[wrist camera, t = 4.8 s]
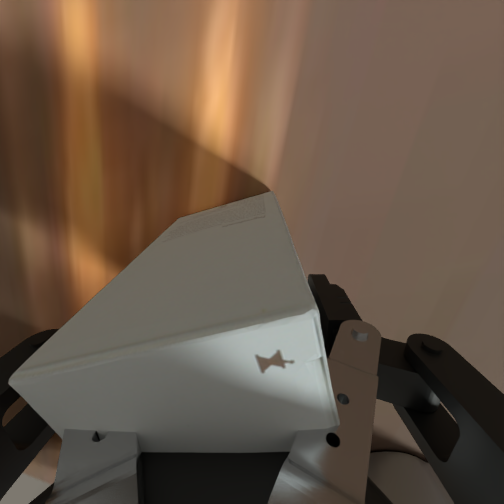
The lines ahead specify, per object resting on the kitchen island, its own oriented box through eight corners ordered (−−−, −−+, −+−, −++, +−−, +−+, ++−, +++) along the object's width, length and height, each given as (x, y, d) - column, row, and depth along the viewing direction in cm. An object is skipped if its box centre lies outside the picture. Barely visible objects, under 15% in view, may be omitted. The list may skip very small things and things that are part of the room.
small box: (177, 216, 14) (-16, 375, 4) (274, 188, 13) (321, 300, 3) (223, 327, 17) (174, 574, 7) (305, 309, 16) (377, 558, 6)
